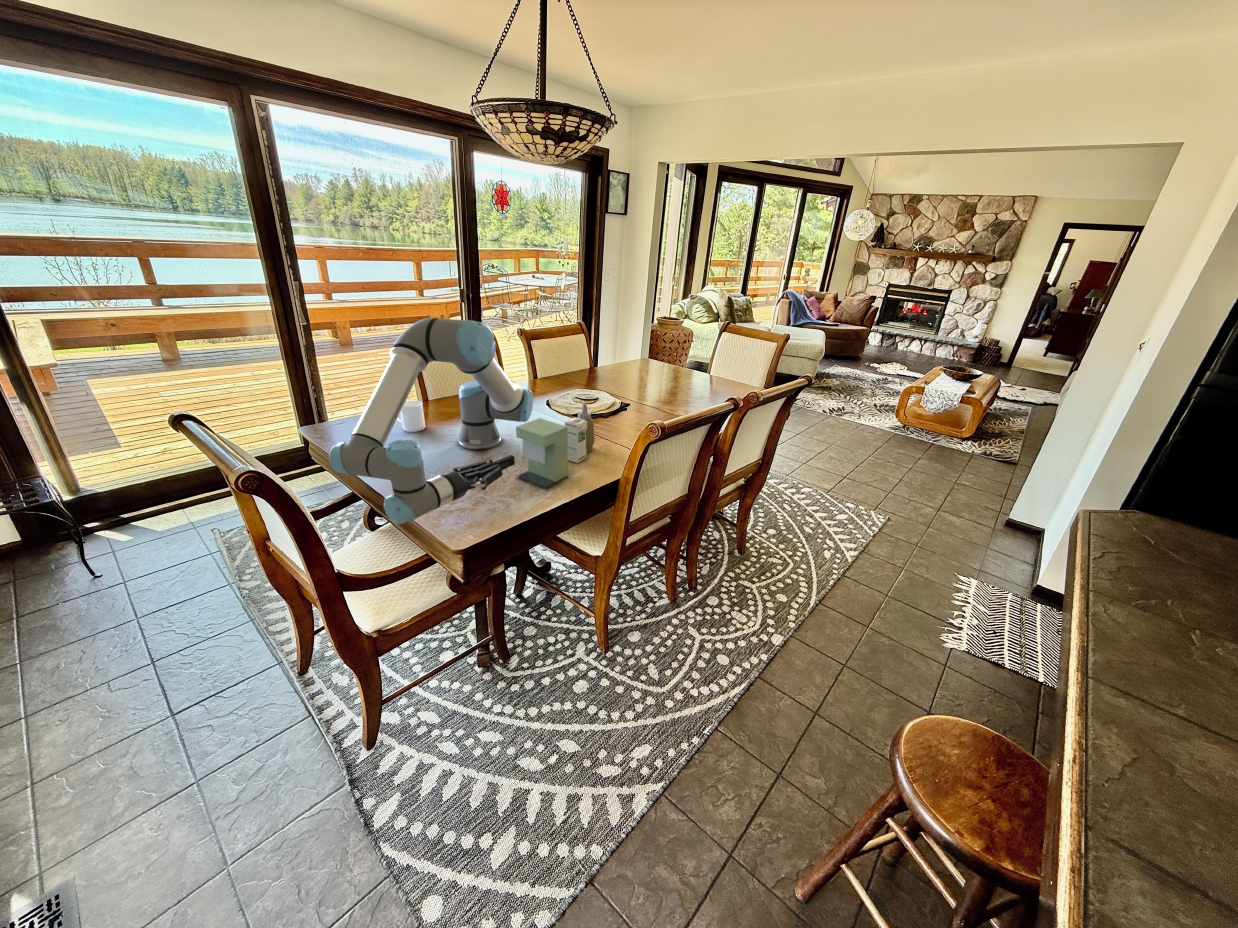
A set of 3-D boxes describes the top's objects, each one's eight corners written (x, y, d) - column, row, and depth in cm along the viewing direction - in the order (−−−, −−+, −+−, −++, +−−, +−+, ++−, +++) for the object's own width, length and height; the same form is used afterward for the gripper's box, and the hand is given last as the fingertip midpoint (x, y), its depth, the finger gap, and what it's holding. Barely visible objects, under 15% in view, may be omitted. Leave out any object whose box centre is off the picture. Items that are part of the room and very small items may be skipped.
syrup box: (577, 463, 168) (578, 424, 162) (564, 459, 171) (564, 420, 165) (587, 458, 173) (587, 420, 166) (574, 453, 175) (574, 416, 169)
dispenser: (545, 489, 150) (544, 436, 142) (518, 478, 156) (515, 426, 148) (567, 477, 158) (567, 426, 150) (540, 467, 164) (539, 418, 156)
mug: (389, 430, 187) (385, 405, 183) (400, 423, 194) (396, 399, 190) (419, 433, 186) (415, 408, 182) (429, 425, 194) (425, 401, 189)
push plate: (543, 464, 148) (543, 446, 146) (522, 456, 153) (522, 438, 150) (545, 463, 149) (545, 445, 146) (524, 455, 153) (524, 438, 151)
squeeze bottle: (591, 455, 175) (592, 408, 167) (570, 452, 176) (570, 405, 169) (596, 446, 182) (598, 401, 175) (576, 444, 184) (576, 399, 176)
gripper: (431, 493, 130) (498, 464, 147) (463, 509, 123) (529, 477, 141) (428, 468, 126) (496, 442, 144) (460, 483, 120) (528, 454, 138)
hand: (512, 459), depth 142 cm, fingers closed
